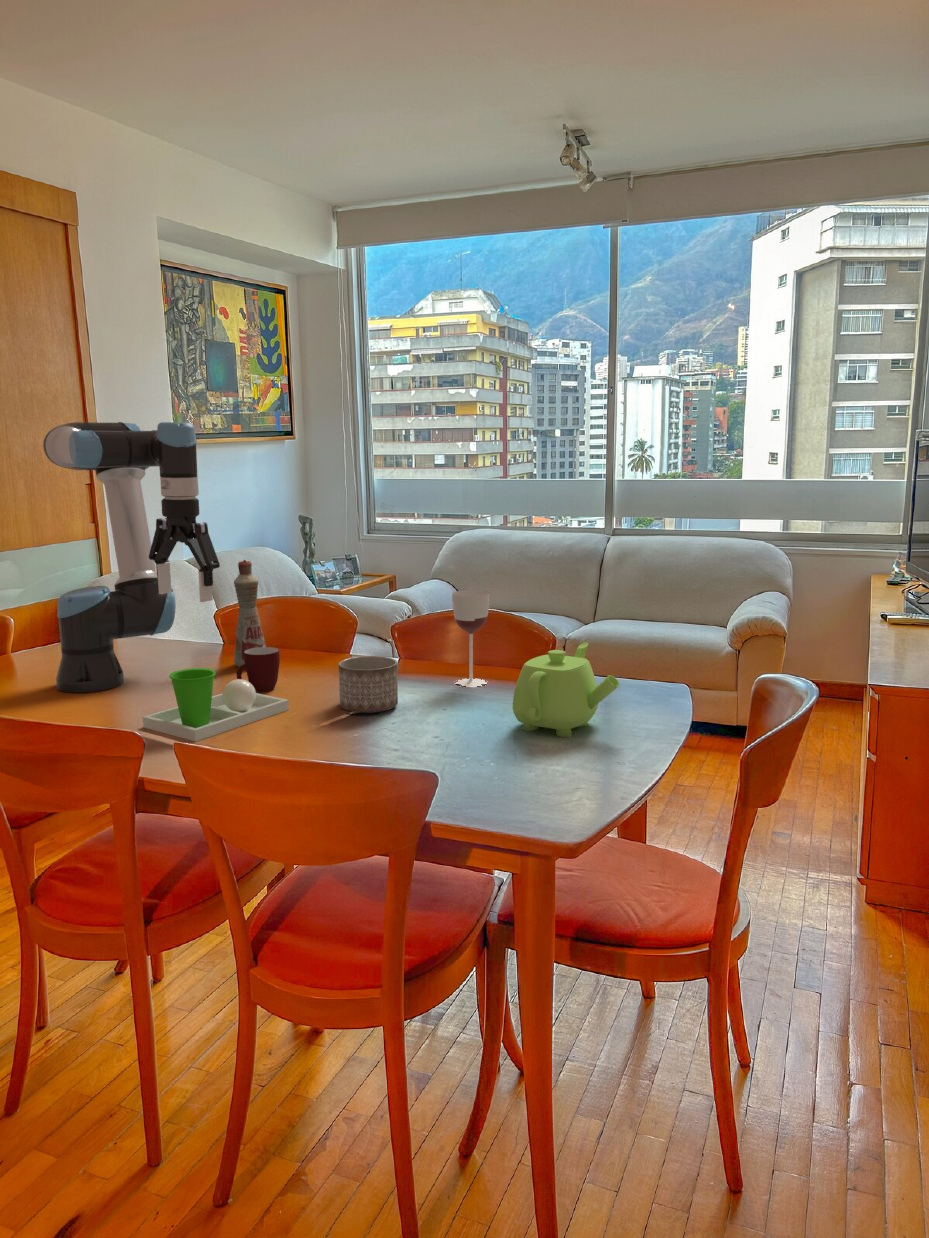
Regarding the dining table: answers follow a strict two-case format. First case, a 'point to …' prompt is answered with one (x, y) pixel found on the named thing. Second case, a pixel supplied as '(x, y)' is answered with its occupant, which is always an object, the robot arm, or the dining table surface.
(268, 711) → the tray
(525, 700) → the teapot
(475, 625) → the wineglass
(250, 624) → the bottle
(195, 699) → the cup
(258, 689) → the mug
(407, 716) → the dining table surface
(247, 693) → the white ball
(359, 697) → the planter
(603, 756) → the dining table surface
